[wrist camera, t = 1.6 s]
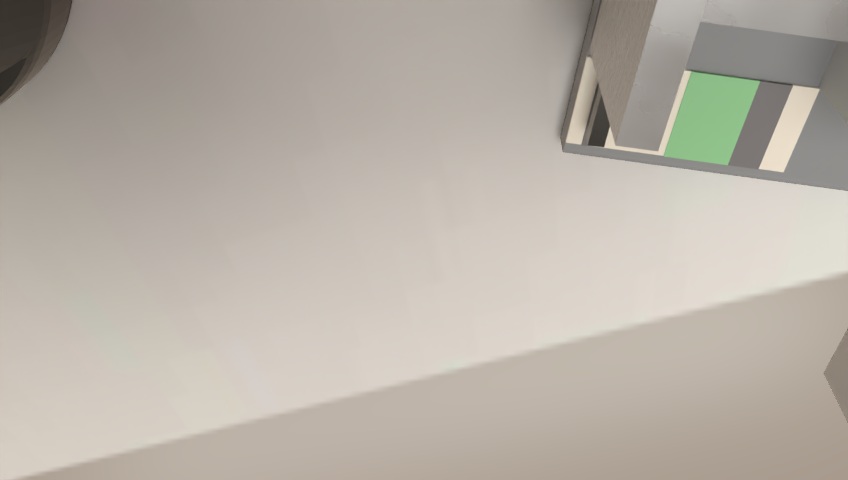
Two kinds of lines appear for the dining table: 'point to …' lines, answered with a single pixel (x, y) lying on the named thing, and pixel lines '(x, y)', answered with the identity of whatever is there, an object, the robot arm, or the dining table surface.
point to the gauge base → (740, 108)
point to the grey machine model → (677, 54)
